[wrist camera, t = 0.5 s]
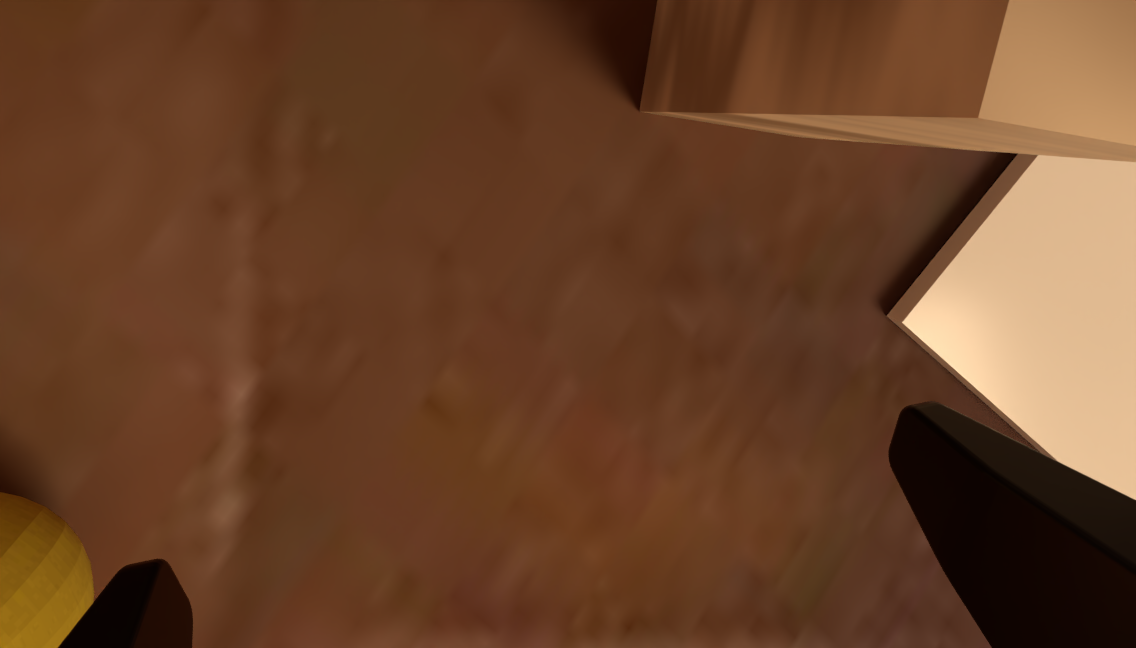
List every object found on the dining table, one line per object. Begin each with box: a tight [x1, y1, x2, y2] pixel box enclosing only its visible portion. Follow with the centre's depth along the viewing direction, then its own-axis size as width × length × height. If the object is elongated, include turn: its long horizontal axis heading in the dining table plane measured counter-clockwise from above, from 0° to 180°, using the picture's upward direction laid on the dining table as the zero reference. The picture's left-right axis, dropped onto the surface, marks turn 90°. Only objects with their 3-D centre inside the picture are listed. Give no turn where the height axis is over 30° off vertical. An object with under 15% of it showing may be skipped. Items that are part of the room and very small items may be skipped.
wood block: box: [639, 0, 1136, 162], centre depth 15 cm, size 5×5×13 cm
